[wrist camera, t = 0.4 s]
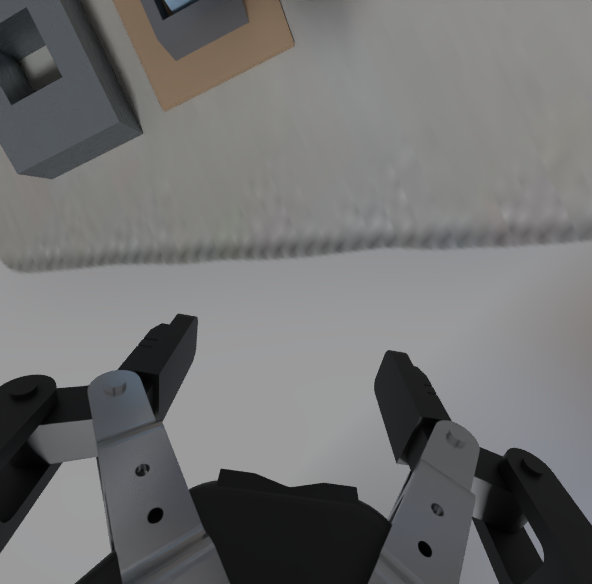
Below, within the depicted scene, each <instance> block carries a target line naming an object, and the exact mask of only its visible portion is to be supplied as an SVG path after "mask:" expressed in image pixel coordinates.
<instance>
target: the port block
mask: <svg viewBox="0 0 592 584" xmlns="http://www.w3.org/2000/svg"><path fill="white" fill-rule="evenodd" d="M45 45H46V46H47V48H48V50H49V52H50V54H51V56H52V58H53V60H54V62H55V63H56V65H57V67H58V69H59V71H60V73H61V75H62V78H60V79H58V80H56V81H55V82H53V83H51V84H49V85H47V86H46V87H44V88H42V89H40V90H38V91H36V92H35V93H34V91H33V89H32V88H31V86H30V84H29V82H28V80H27V78H26V76H25V74H24V73H23V71H22V69H21V67H20V65H19V63H18V61H19V60H21V59H22V58H24V57H26V56H27V55H29V54H31V53H33V52H34V51H36V50H38V49H40V48H41V47H43V46H45ZM141 134H143V132H142V130H141V128H140V126H139V124H138V122H137V120H136V118H135V116H134V114H133V111H132V109H131V107H130V105H129V103H128V101H127V99H126V97H125V95H124V93H123V90H122V88H121V86H120V84H119V82H118V80H117V78H116V76H115V74H114V72H113V70H112V67H111V65H110V63H109V61H108V59H107V57H106V55H105V53H104V51H103V49H102V46H101V44H100V42H99V40H98V38H97V36H96V34H95V32H94V30H93V28H92V25H91V23H90V21H89V19H88V17H87V15H86V13H85V11H84V9H83V7H82V5H81V2H80V0H0V144H1V146H2V148H3V149H4V151H5V153H6V155H7V156H8V158H9V160H10V162H11V163H12V165H13V167H14V169H15V170H16V172H17V174H21V175H28V176H34V177H41V178H48V179H53V178H55V177H57V176H59V175H61V174H63V173H65V172H67V171H69V170H71V169H73V168H75V167H77V166H79V165H81V164H83V163H85V162H87V161H89V160H91V159H93V158H95V157H97V156H99V155H101V154H103V153H105V152H107V151H109V150H111V149H113V148H115V147H117V146H119V145H121V144H123V143H125V142H127V141H129V140H131V139H133V138H135V137H137V136H139V135H141Z"/></svg>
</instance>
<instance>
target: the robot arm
mask: <svg viewBox="0 0 592 584" xmlns="http://www.w3.org/2000/svg"><path fill="white" fill-rule="evenodd" d="M197 326H198V318H197V317H195V316H189V315H184V314H177V315H176V317H175V318H174V319H173V321H172V322H171V323H170V325H169V324H163V323H162V324H160V325H158V326H156V327H155V328H153V329H151V330H150V331H149V332H148V334H147V335H146V336H145V337H144V339H143V340H142V341H141V342H140V343H139V345H138V346H137V347H136V348H135V349H134V350H133V352H132V353H131V354H130V355H129V356H128V358H127V359H126V360H125V361H124V362H123V364H122V365H121V366H120V367H119V369H118V370H116V371H110V372H107V373H104V374H102V375H100V376H98V377H97V378H95V379H94V380H93V381H92V382H91V384H90V385H88V386H80V387H67V388H56V383H55V381H54V379H52V378H51V377H48V376H45V375H29V376H23V377H20V378H16V379H14V380H11V381H9V382H7V383H5V384H3V385H2V386H0V552H1V551H2V550H3V548H4V547H5V546H6V544H7V543H8V541H9V540H10V538H11V537H12V535H13V534H14V532H15V531H16V529H17V528H18V527H19V525H20V524H21V522H22V521H23V519H24V518H25V516H26V515H27V514H28V512H29V510H30V509H31V508H32V506H33V505H34V503H35V502H36V500H37V499H38V497H39V496H40V494H41V493H42V492H43V490H44V489H45V487H46V486H47V484H48V483H49V481H50V480H51V479H52V477H53V476H54V474H55V472H56V471H57V470H58V468H59V467H60V465H61V464H62V463H63V462H65V461H73V460H79V459H85V458H92V457H96V460H97V466H98V471H99V478H100V483H101V490H102V495H103V501H104V507H105V514H106V520H107V527H108V533H109V540H110V546H111V553H110V554H109V555H108V556H107V557H105V558H104V559H103V560H102V561H101V562H100V563H98V564H97V565H96V566H95V567H94V568H93V569H91V570H90V571H89V572H88V573H87V574H86V575H84V576H83V577H82V578H81V579H80V580H79V581H77V582H76V583H75V584H459V580H460V575H461V570H462V565H463V560H464V555H465V550H466V545H467V540H468V536H469V530H470V526H471V520H473V522H474V524H475V526H476V529H477V532H478V534H479V536H480V539H481V541H482V543H483V546H484V548H485V550H486V553H487V555H488V558H489V560H490V563H491V565H492V567H493V570H494V572H495V575H496V577H497V579H498V582H499V584H592V525H591V524H590V522H589V521H588V520H587V518H586V517H585V516H584V514H583V513H582V511H581V510H580V509H579V507H578V506H577V505H576V503H575V502H574V501H573V499H572V498H571V496H570V495H569V494H568V492H567V491H566V490H565V488H564V487H563V486H562V484H561V483H560V481H559V480H558V479H557V477H556V476H555V475H554V473H553V472H552V471H551V469H550V468H549V467H548V466H547V465H546V464H545V463H544V462H542V461H541V460H540V459H539V458H537V457H536V456H534V455H533V454H531V453H529V452H527V451H525V450H522V449H518V448H510V449H509V450H507V452H506V453H505V455H504V456H500V455H498V454H495V453H493V452H490V451H488V450H486V449H483V448H481V447H479V444H478V442H477V440H476V439H475V437H474V436H473V435H472V434H471V433H470V432H469V431H467V430H466V429H465V428H464V427H462V426H461V425H459V424H457V423H455V422H452V421H451V419H450V417H449V415H448V414H447V412H446V410H445V408H444V407H443V405H442V403H441V401H440V399H439V398H438V396H437V395H436V392H435V390H434V388H433V387H432V385H431V383H430V382H429V380H428V378H427V376H426V375H425V374H424V373H422V371H421V370H420V369H419V368H418V367H415V366H413V364H412V362H411V360H410V358H409V357H408V355H407V354H406V353H403V352H396V351H391V350H388V351H387V352H386V353H385V355H384V358H383V360H382V363H381V365H380V368H379V371H378V373H377V376H376V378H375V383H374V391H375V395H376V398H377V401H378V405H379V408H380V411H381V414H382V418H383V421H384V424H385V427H386V431H387V434H388V437H389V440H390V444H391V447H392V450H393V453H394V457H395V460H396V463H397V464H404V465H409V467H410V469H411V471H410V473H409V475H408V476H407V478H406V481H405V483H404V485H403V487H402V489H401V491H400V494H399V496H398V498H397V500H396V502H395V505H394V506H393V509H392V511H391V513H390V515H389V517H388V519H386V518H385V517H384V516H383V515H381V514H380V513H379V512H378V511H377V510H375V509H374V508H372V507H371V506H369V505H367V504H366V503H364V502H362V501H360V500H358V494H357V488H356V487H351V486H344V485H336V484H329V483H319V484H312V485H304V486H297V487H287V486H284V485H282V484H279V483H277V482H275V481H272V480H270V479H267V478H265V477H263V476H260V475H258V474H255V473H249V472H242V471H234V470H227V469H221V470H220V474H219V478H218V480H217V481H211V482H207V483H203V484H200V485H198V486H195V487H193V488H191V489H189V490H188V487H187V485H186V482H185V479H184V477H183V474H182V472H181V469H180V466H179V464H178V461H177V459H176V456H175V454H174V451H173V449H172V446H171V443H170V441H169V438H168V435H167V433H166V430H165V428H164V425H163V423H162V421H163V420H164V418H165V416H166V413H167V412H168V410H169V407H170V406H171V404H172V402H173V400H174V398H175V396H176V394H177V391H178V390H179V388H180V386H181V384H182V382H183V380H184V378H185V376H186V374H187V372H188V370H189V368H190V366H191V364H192V362H193V359H194V356H195V352H196V341H197ZM527 522H529V523H530V525H531V527H532V529H533V531H534V532H535V534H536V536H537V538H538V539H539V541H540V543H541V545H542V547H543V552H544V562H543V561H542V560H541V558H540V556H539V554H538V553H537V551H536V549H535V547H534V545H533V543H532V542H531V540H530V538H529V536H528V534H527V533H526V530H525V529H524V527H523V526H524V525H525V524H526V523H527Z"/></svg>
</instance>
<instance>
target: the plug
mask: <svg viewBox="0 0 592 584" xmlns="http://www.w3.org/2000/svg"><path fill="white" fill-rule="evenodd" d="M197 1H199V0H165V2H166V3H167V5H168V6H169V8H170V9H171V11H172V12H173V14H175V13H177V12H179V11H181V10H183V9H184V8H186V7H188V6H190V5H192V4H193V3H195V2H197Z"/></svg>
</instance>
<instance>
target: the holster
mask: <svg viewBox="0 0 592 584" xmlns="http://www.w3.org/2000/svg"><path fill="white" fill-rule="evenodd" d="M113 2H114V4H115V6H116V9H117V11H118V13H119V15H120V17H121V20H122V22H123V24H124V26H125V28H126V30H127V33H128V35H129V37H130V39H131V41H132V44H133V46H134V48H135V50H136V52H137V55H138V57H139V59H140V61H141V63H142V66H143V68H144V70H145V72H146V74H147V76H148V79H149V81H150V83H151V85H152V87H153V90H154V92H155V94H156V96H157V98H158V101H159V103H160V105H161V107H162V109H163V110H164V111H167V110H169V109H171V108H173V107H175V106H177V105H179V104H181V103H183V102H185V101H187V100H189V99H191V98H193V97H195V96H197V95H199V94H201V93H203V92H205V91H207V90H209V89H211V88H213V87H215V86H217V85H219V84H221V83H223V82H225V81H227V80H229V79H231V78H232V77H234V76H236V75H238V74H240V73H242V72H244V71H246V70H248V69H250V68H252V67H254V66H256V65H258V64H260V63H262V62H264V61H266V60H268V59H270V58H272V57H274V56H276V55H278V54H280V53H282V52H284V51H286V50H288V49H290V48H292V47H294V41H293V38H292V35H291V33H290V30H289V27H288V24H287V21H286V19H285V16H284V13H283V10H282V7H281V5H280V2H279V0H199V1H197V2H195V3H193V4H192V5H190V6H188V7H186V8H184V9H183V10H181V11H179V12H177V13H175V14H173V12H172V11H171V9H170V8H169V6H168V5H167V3H166V2H165V0H113Z"/></svg>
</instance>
